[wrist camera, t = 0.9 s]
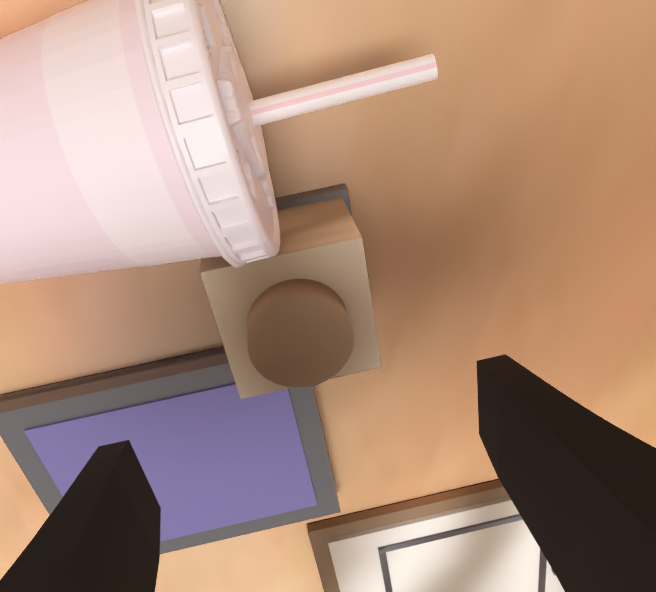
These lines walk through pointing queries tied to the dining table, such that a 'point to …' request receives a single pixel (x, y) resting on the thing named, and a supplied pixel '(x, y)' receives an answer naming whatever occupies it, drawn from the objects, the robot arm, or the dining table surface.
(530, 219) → the dining table surface
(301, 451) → the ink tray
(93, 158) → the smoothie
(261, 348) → the stamp
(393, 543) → the clipboard
